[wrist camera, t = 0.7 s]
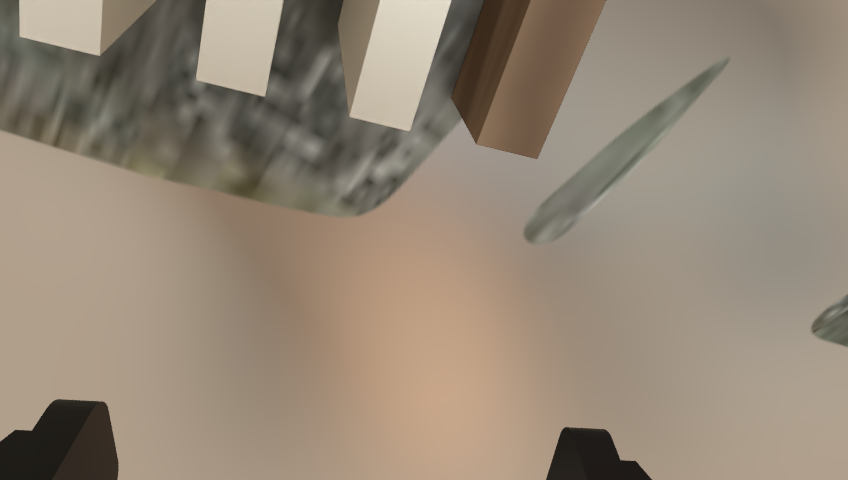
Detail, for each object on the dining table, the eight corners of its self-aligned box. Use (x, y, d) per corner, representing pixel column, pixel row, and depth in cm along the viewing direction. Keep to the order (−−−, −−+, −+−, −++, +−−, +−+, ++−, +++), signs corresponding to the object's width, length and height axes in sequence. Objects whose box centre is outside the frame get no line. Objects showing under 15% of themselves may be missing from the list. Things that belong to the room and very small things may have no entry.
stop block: (451, 97, 32) (476, 144, 27) (515, -89, 28) (558, -75, 23) (503, 111, 33) (537, 159, 28) (573, -68, 29) (627, -50, 24)
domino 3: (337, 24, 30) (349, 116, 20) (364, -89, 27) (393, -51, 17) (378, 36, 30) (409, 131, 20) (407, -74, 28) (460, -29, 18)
